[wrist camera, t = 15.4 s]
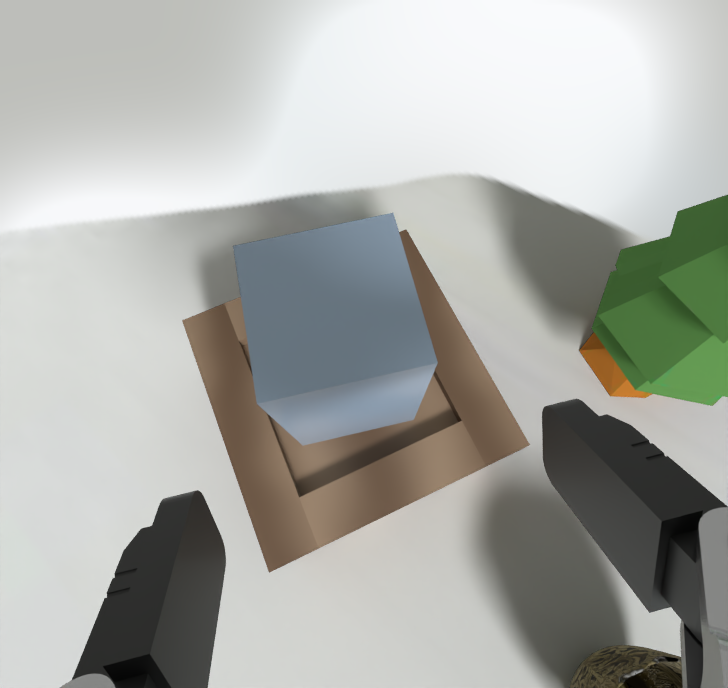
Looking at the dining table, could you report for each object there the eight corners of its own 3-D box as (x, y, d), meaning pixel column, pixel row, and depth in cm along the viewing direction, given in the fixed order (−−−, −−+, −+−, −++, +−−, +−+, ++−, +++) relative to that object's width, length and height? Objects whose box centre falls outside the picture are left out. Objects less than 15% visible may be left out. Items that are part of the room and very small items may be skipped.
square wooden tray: (400, 282, 34) (406, 229, 28) (496, 459, 30) (530, 444, 23) (220, 358, 32) (182, 320, 26) (293, 558, 28) (269, 572, 21)
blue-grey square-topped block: (386, 318, 26) (393, 212, 17) (413, 419, 24) (437, 362, 15) (284, 341, 26) (232, 245, 17) (302, 445, 24) (256, 403, 15)
